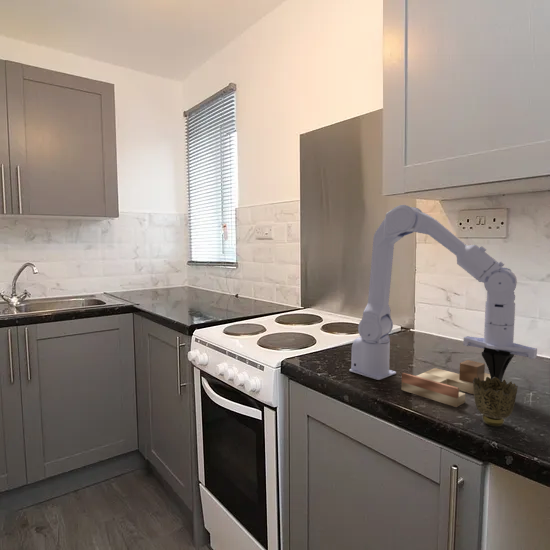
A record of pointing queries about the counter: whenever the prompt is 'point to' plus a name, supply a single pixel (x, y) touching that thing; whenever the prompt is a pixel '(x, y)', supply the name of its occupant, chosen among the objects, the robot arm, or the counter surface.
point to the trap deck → (438, 386)
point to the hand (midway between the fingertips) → (496, 383)
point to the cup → (494, 399)
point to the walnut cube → (471, 371)
